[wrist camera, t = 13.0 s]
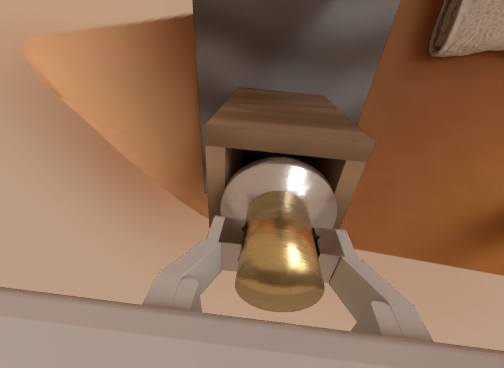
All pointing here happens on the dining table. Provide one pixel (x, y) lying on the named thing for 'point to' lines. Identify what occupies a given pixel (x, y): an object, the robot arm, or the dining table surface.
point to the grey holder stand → (287, 86)
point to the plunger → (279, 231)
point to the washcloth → (468, 28)
